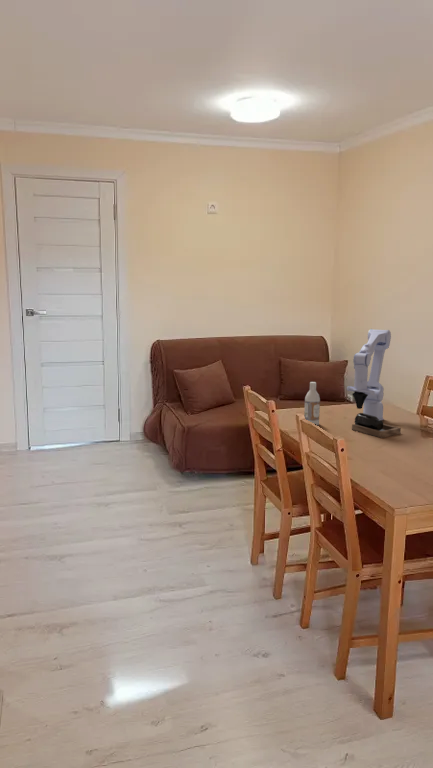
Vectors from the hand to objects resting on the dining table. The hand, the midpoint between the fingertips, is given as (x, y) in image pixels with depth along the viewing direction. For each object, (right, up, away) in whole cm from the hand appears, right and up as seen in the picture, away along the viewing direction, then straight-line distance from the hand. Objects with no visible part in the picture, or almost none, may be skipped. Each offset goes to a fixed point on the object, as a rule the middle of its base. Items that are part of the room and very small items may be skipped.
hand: (359, 408), depth 269 cm
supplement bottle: (0, -5, 0) cm, 5 cm away
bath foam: (-21, -8, +6) cm, 23 cm away
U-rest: (+5, -10, -6) cm, 13 cm away
